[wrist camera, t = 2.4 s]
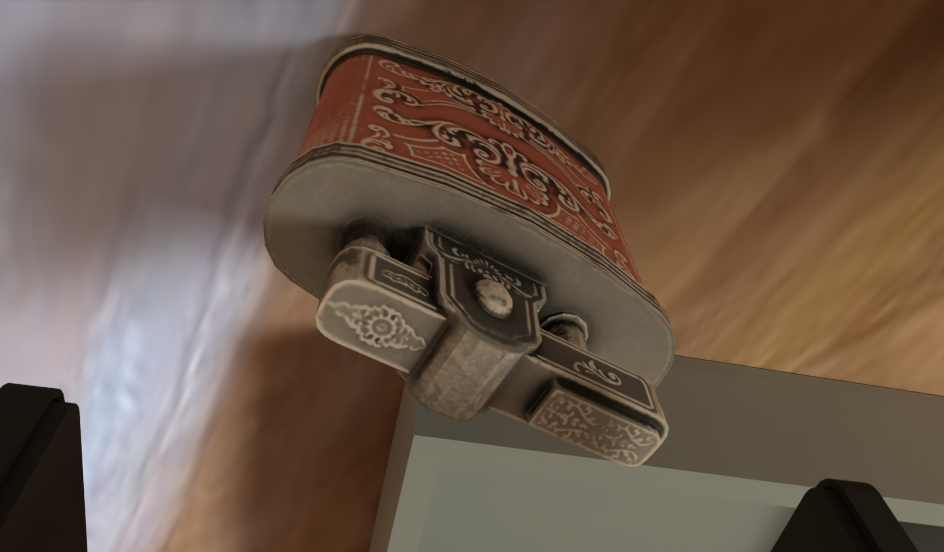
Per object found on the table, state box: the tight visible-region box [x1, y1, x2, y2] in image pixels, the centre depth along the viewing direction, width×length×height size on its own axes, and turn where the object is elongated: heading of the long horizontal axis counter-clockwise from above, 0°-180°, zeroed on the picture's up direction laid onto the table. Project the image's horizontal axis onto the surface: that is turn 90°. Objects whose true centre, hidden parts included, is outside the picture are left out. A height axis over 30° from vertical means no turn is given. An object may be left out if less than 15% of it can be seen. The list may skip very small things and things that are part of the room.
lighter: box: [263, 34, 676, 467], centre depth 16 cm, size 8×3×10 cm, turn 59°
